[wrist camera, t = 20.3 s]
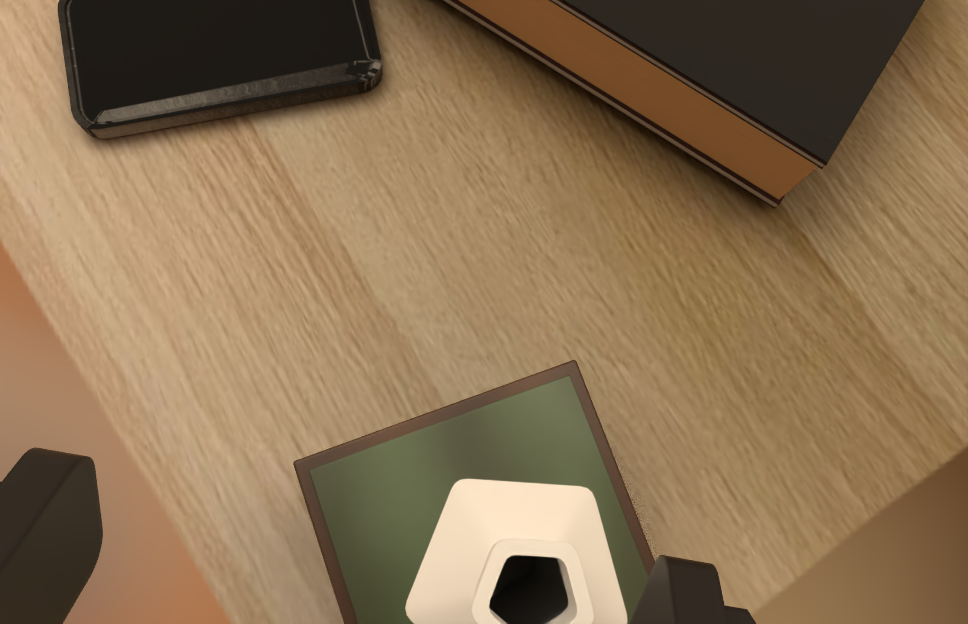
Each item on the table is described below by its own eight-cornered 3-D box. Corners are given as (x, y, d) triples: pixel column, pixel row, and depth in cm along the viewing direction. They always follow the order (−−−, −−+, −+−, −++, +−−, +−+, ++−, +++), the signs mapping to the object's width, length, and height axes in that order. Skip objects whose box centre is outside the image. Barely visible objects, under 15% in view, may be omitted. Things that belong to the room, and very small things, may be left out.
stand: (395, 686, 36) (381, 748, 28) (323, 468, 38) (290, 461, 29) (625, 593, 38) (682, 624, 29) (546, 386, 40) (577, 357, 31)
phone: (385, 77, 41) (74, 133, 40) (386, 88, 42) (83, 142, 41) (355, -62, 43) (54, -13, 41) (357, -48, 44) (64, 0, 42)
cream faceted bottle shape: (404, 496, 29) (370, 501, 15) (524, 466, 30) (607, 440, 15) (434, 630, 29) (431, 775, 14) (557, 596, 29) (680, 702, 14)
